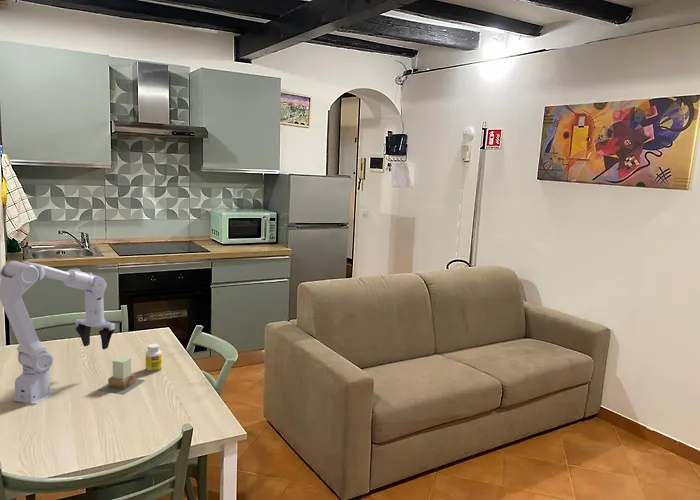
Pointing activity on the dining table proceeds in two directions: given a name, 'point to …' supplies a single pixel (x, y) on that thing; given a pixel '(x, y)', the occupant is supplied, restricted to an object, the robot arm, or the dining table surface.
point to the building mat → (119, 391)
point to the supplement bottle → (153, 358)
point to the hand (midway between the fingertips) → (95, 346)
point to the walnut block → (121, 382)
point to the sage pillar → (121, 368)
